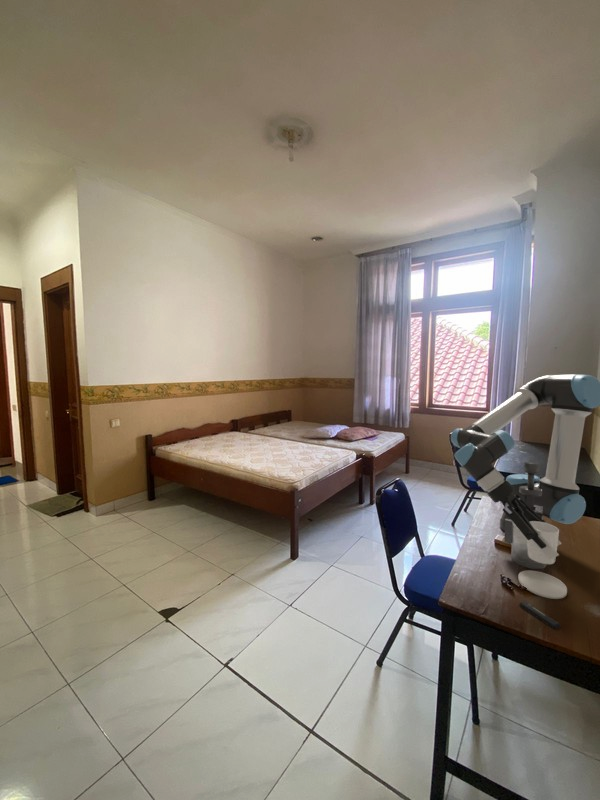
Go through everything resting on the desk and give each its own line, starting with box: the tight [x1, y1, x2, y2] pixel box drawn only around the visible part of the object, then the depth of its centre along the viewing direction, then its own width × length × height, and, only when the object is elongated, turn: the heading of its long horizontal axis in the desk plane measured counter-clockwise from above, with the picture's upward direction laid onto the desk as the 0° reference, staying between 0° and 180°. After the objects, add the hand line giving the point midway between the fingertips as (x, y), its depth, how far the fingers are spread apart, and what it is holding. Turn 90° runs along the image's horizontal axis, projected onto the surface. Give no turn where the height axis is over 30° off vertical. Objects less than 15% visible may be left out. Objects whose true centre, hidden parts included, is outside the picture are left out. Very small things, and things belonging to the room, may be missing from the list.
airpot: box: [504, 505, 547, 570], centre depth 114 cm, size 13×10×19 cm
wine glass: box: [519, 461, 542, 510], centre depth 113 cm, size 6×6×16 cm
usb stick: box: [519, 601, 561, 630], centre depth 89 cm, size 10×3×2 cm, turn 21°
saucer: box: [518, 569, 568, 600], centre depth 101 cm, size 12×12×1 cm
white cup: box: [527, 521, 560, 565], centre depth 100 cm, size 8×8×10 cm
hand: (555, 550), depth 98 cm, fingers closed on white cup, 8 cm apart
